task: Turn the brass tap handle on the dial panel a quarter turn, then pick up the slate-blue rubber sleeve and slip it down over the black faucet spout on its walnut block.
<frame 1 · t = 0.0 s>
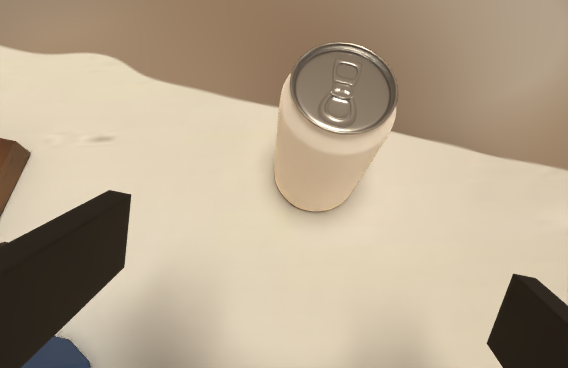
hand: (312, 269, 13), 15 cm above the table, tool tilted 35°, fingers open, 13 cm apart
can: (314, 175, 31), on the table
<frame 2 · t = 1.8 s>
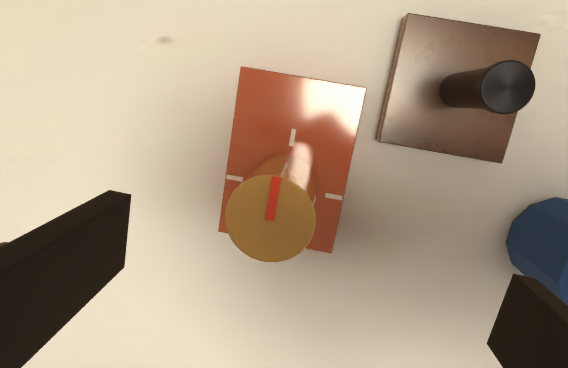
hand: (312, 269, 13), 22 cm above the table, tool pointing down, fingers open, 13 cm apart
sleeve: (552, 240, 35), on the table
dial panel: (290, 158, 35), on the table
brown base with rod: (448, 90, 33), on the table
tap handle: (277, 201, 28), point 8 cm above the table, hinge at 0.0°
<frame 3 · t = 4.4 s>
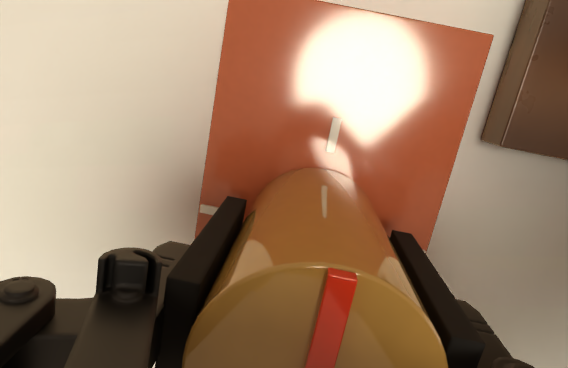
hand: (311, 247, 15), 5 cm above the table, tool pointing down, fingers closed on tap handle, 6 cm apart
dial panel: (320, 171, 19), on the table
tap handle: (311, 284, 12), point 8 cm above the table, hinge at 0.0°, touching gripper
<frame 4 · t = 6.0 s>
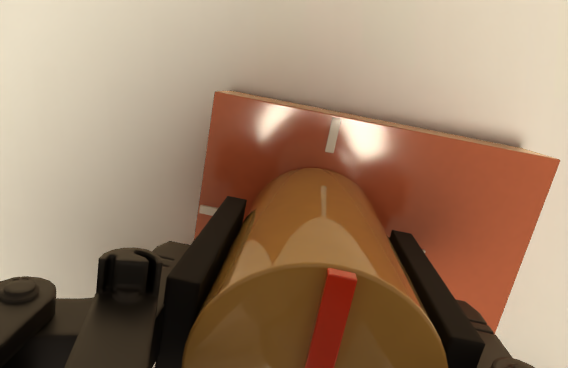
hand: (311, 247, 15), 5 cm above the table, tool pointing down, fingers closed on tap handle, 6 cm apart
dial panel: (350, 217, 20), on the table
tap handle: (311, 284, 12), point 8 cm above the table, hinge at 89.9°, touching gripper
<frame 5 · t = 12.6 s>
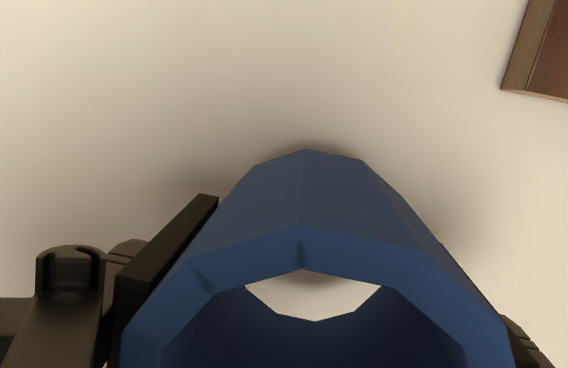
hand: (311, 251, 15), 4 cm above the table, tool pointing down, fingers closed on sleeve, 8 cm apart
sleeve: (311, 249, 15), point 3 cm above the table, touching gripper
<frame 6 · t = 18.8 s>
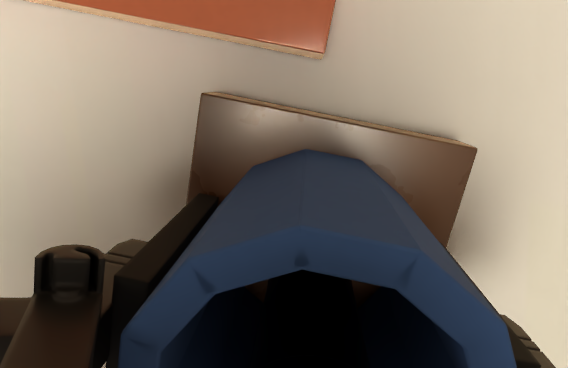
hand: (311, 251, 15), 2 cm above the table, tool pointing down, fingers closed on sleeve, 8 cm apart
sleeve: (311, 249, 15), point 2 cm above the table, touching gripper
brown base with rod: (309, 230, 17), on the table
when the fingers open (4 cm above the table, at t = 28.7 s): sleeve drops 2 cm, resting on brown base with rod.
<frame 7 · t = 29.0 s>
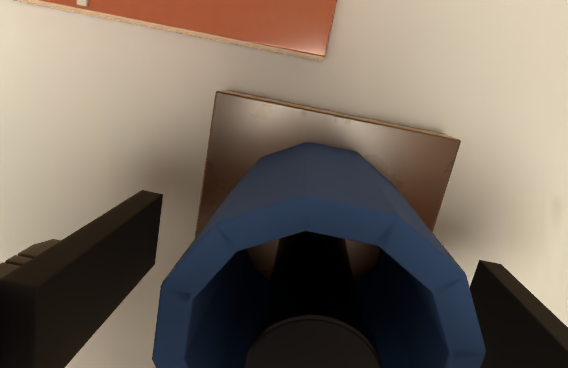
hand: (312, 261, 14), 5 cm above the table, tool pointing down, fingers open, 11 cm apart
sleeve: (312, 232, 17), point 2 cm above the table, touching brown base with rod
brown base with rod: (311, 215, 19), on the table
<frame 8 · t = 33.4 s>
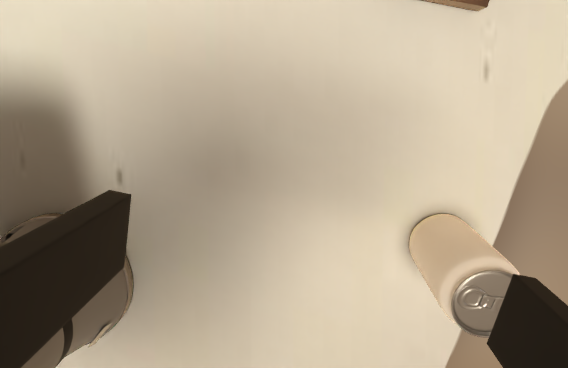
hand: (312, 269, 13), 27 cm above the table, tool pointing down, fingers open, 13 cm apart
can: (438, 241, 41), on the table
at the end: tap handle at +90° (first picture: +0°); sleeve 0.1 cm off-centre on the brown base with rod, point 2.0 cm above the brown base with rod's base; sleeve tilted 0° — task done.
